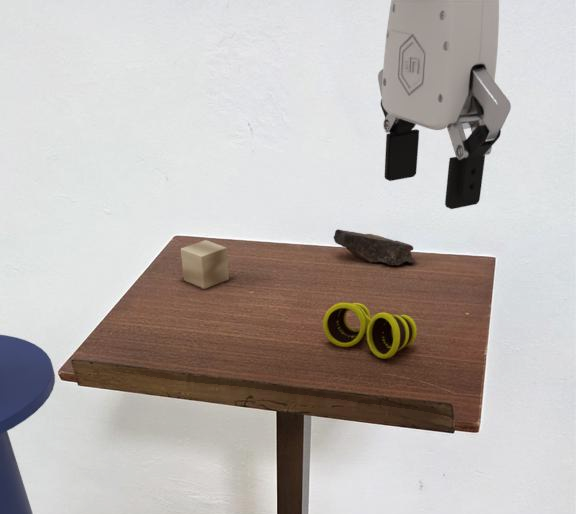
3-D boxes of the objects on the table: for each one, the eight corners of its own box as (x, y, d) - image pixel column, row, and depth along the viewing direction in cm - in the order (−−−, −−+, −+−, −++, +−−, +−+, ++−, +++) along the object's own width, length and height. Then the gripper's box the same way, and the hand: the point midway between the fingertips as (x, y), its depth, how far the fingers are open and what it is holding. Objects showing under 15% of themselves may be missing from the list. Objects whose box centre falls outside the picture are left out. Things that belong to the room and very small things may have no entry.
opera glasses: (415, 355, 85) (423, 311, 82) (393, 365, 81) (401, 320, 79) (343, 334, 89) (348, 292, 87) (319, 343, 86) (324, 299, 83)
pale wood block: (204, 289, 99) (201, 256, 96) (183, 280, 101) (180, 248, 99) (229, 279, 101) (226, 247, 99) (208, 271, 104) (205, 239, 101)
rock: (412, 276, 108) (427, 245, 104) (391, 291, 103) (406, 260, 100) (346, 233, 110) (358, 201, 106) (323, 246, 106) (335, 214, 102)
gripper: (349, -46, 61) (346, 174, 72) (479, -38, 49) (451, 226, 60) (426, -51, 64) (411, 163, 74) (568, -45, 51) (525, 210, 62)
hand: (429, 191), depth 67 cm, fingers open, 9 cm apart
